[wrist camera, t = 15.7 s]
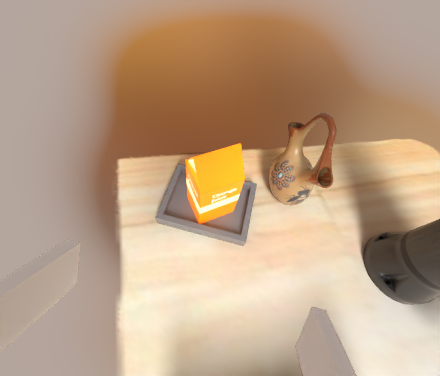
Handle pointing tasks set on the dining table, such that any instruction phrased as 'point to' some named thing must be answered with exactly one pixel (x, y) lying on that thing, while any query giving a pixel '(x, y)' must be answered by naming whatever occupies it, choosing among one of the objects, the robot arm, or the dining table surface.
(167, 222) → the tray
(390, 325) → the dining table surface
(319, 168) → the ceramic vessel
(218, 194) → the orange juice
